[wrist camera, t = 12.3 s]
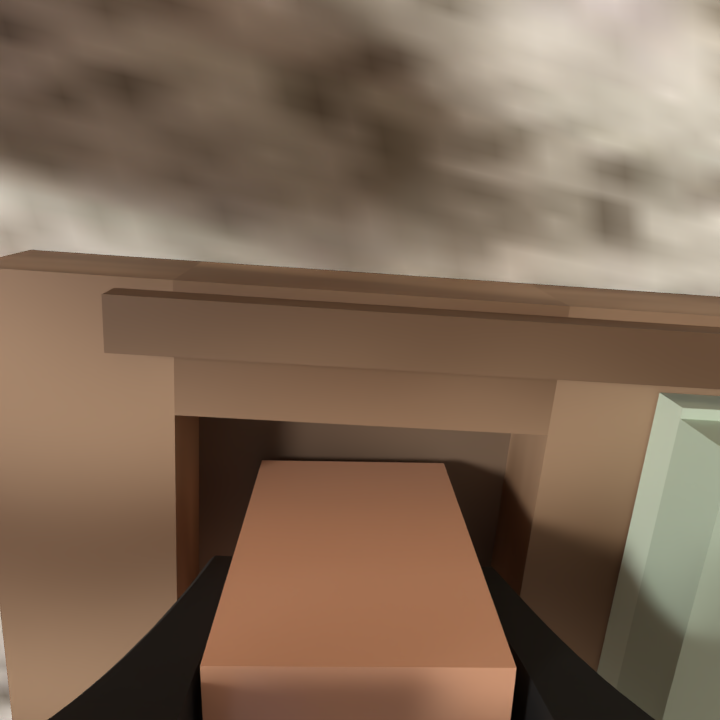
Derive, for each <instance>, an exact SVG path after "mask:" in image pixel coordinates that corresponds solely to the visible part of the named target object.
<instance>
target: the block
mask: <svg viewBox="0 0 720 720" xmlns="http://www.w3.org/2000/svg"><path fill="white" fill-rule="evenodd" d="M200 677H201V696H202V716H203V720H510V719H511V711H512V702H513V694H514V685H515V677H516V665H515V662H514V659H513V656H512V654H511V651H510V648H509V645H508V642H507V640H506V637H505V634H504V631H503V628H502V626H501V623H500V620H499V617H498V614H497V611H496V609H495V606H494V603H493V600H492V597H491V595H490V592H489V589H488V586H487V583H486V580H485V578H484V575H483V572H482V569H481V566H480V564H479V561H478V558H477V555H476V552H475V550H474V547H473V544H472V541H471V538H470V535H469V533H468V530H467V527H466V524H465V521H464V519H463V516H462V513H461V510H460V507H459V505H458V502H457V499H456V496H455V493H454V490H453V488H452V485H451V482H450V479H449V476H448V474H447V471H446V468H445V465H444V463H403V462H340V461H276V460H262V462H261V465H260V468H259V472H258V475H257V478H256V482H255V485H254V488H253V492H252V495H251V498H250V502H249V505H248V508H247V512H246V515H245V518H244V522H243V525H242V528H241V532H240V535H239V538H238V541H237V545H236V548H235V551H234V555H233V558H232V561H231V565H230V568H229V571H228V575H227V578H226V581H225V585H224V588H223V591H222V595H221V598H220V601H219V605H218V608H217V611H216V615H215V618H214V621H213V624H212V628H211V631H210V634H209V638H208V641H207V644H206V648H205V651H204V654H203V658H202V661H201V664H200Z"/></svg>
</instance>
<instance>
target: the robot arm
mask: <svg viewBox="0 0 720 720" xmlns="http://www.w3.org/2000/svg"><path fill="white" fill-rule="evenodd" d="M232 558H233V556H217V555H215V556H214V557H213V558H211V559H210V560H209V561H208V563H207V564H206V565H205V567H204V568H203V569H202V571H201V572H200V573H199V574H198V576H197V577H196V578H195V580H194V581H193V582H192V583H191V585H190V586H189V587H188V588H187V589H186V591H185V592H184V593H183V594H182V595H181V597H180V598H179V599H178V600H177V601H176V602H175V603H174V605H173V606H172V607H171V608H170V609H169V610H168V611H167V612H166V613H165V615H164V616H163V617H162V618H161V619H160V620H159V621H158V622H157V623H156V625H155V626H154V627H153V628H152V629H151V630H150V631H149V632H148V633H147V634H146V635H145V636H144V637H143V638H142V639H141V640H140V641H139V642H138V643H137V644H136V645H135V646H134V647H133V648H132V649H131V650H130V651H129V652H128V653H127V654H126V655H125V656H124V657H123V658H122V659H121V660H119V661H118V662H117V663H116V664H115V665H114V666H113V667H112V668H111V669H110V670H109V671H107V672H106V673H105V674H104V675H103V676H102V677H101V678H100V679H98V680H97V681H96V682H95V683H94V684H92V685H91V686H90V687H89V688H88V689H87V690H85V691H84V692H83V693H82V694H81V695H79V696H78V697H77V698H76V699H74V700H73V701H72V702H71V703H69V704H68V705H67V706H65V707H64V708H63V709H61V710H60V711H59V712H57V713H56V714H55V715H53V716H52V717H51V718H49V719H48V720H203V716H202V696H201V677H200V664H201V661H202V658H203V654H204V651H205V648H206V644H207V641H208V638H209V634H210V631H211V628H212V624H213V621H214V618H215V615H216V611H217V608H218V605H219V601H220V598H221V595H222V591H223V588H224V585H225V581H226V578H227V575H228V571H229V568H230V565H231V561H232ZM481 569H482V572H483V575H484V578H485V580H486V583H487V586H488V589H489V592H490V595H491V597H492V600H493V603H494V606H495V609H496V611H497V614H498V617H499V620H500V623H501V626H502V628H503V631H504V634H505V637H506V640H507V642H508V645H509V648H510V651H511V654H512V656H513V659H514V662H515V665H516V677H515V685H514V694H513V702H512V711H511V719H510V720H655V719H654V718H652V717H651V716H650V715H648V714H647V713H646V712H645V711H643V710H642V709H641V708H640V707H638V706H637V705H636V704H634V703H633V702H632V701H631V700H629V699H628V698H627V697H626V696H624V695H623V694H622V693H620V692H619V691H618V690H617V689H616V688H614V687H613V686H612V685H611V684H610V683H608V682H607V681H606V680H605V679H604V678H602V677H601V676H600V675H599V674H598V673H597V672H596V671H595V670H594V669H592V668H591V667H590V666H589V665H588V664H587V663H586V662H585V661H584V660H582V659H581V658H580V657H579V656H578V655H577V654H576V653H575V652H574V651H573V650H572V649H571V648H570V647H569V646H567V645H566V644H565V643H564V642H563V641H562V640H561V639H560V638H559V637H558V636H557V635H556V634H555V633H554V632H553V631H552V630H551V629H550V628H549V627H548V626H547V625H546V624H545V623H544V622H543V621H542V620H541V619H540V618H539V616H538V615H537V614H536V613H535V612H534V611H533V610H532V609H531V608H530V607H529V606H528V605H527V604H526V603H525V602H524V601H523V600H522V598H521V597H520V596H519V595H518V594H517V593H516V592H515V591H514V590H513V589H512V588H511V587H510V585H509V584H508V583H507V582H506V581H505V580H504V579H503V578H502V577H501V576H500V575H499V574H498V572H497V571H496V570H495V569H494V568H493V567H482V566H481Z"/></svg>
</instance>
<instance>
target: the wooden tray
mask: <svg viewBox="0 0 720 720" xmlns="http://www.w3.org/2000/svg"><path fill="white" fill-rule="evenodd" d="M659 393H676V394H693V395H710V396H720V297H715V296H700V295H686V294H671V293H656V292H641V291H627V290H612V289H597V288H583V287H568V286H553V285H539V284H524V283H509V282H494V281H480V280H465V279H450V278H436V277H421V276H406V275H391V274H377V273H362V272H347V271H333V270H318V269H303V268H289V267H274V266H259V265H244V264H230V263H215V262H200V261H186V260H171V259H156V258H142V257H127V256H112V255H97V254H83V253H68V252H53V251H39V250H28V251H24V252H20V253H16V254H12V255H7V256H3V257H0V611H1V620H2V629H3V638H4V648H5V657H6V666H7V675H8V684H9V694H10V703H11V712H12V720H48V719H49V718H51V717H52V716H53V715H55V714H56V713H57V712H59V711H60V710H61V709H63V708H64V707H65V706H67V705H68V704H69V703H71V702H72V701H73V700H74V699H76V698H77V697H78V696H79V695H81V694H82V693H83V692H84V691H85V690H87V689H88V688H89V687H90V686H91V685H92V684H94V683H95V682H96V681H97V680H98V679H100V678H101V677H102V676H103V675H104V674H105V673H106V672H107V671H109V670H110V669H111V668H112V667H113V666H114V665H115V664H116V663H117V662H118V661H119V660H121V659H122V658H123V657H124V656H125V655H126V654H127V653H128V652H129V651H130V650H131V649H132V648H133V647H134V646H135V645H136V644H137V643H138V642H139V641H140V640H141V639H142V638H143V637H144V636H145V635H146V634H147V633H148V632H149V631H150V630H151V629H152V628H153V627H154V626H155V625H156V623H157V622H158V621H159V620H160V619H161V618H162V617H163V616H164V615H165V613H166V612H167V611H168V610H169V609H170V608H171V607H172V606H173V605H174V603H175V602H176V601H177V600H178V599H179V598H180V597H181V595H182V594H183V593H184V592H185V591H186V589H187V588H188V587H189V586H190V585H191V583H192V582H193V581H194V580H195V578H196V577H197V576H198V574H199V573H200V572H201V571H202V569H203V568H204V567H205V565H206V564H207V563H208V561H209V560H210V559H211V558H213V557H214V556H215V555H217V556H233V555H234V551H235V548H236V545H237V541H238V538H239V535H240V532H241V528H242V525H243V522H244V518H245V515H246V512H247V508H248V505H249V502H250V498H251V495H252V492H253V488H254V485H255V482H256V478H257V475H258V472H259V468H260V465H261V462H262V460H276V461H340V462H403V463H444V465H445V468H446V471H447V474H448V476H449V479H450V482H451V485H452V488H453V490H454V493H455V496H456V499H457V502H458V505H459V507H460V510H461V513H462V516H463V519H464V521H465V524H466V527H467V530H468V533H469V535H470V538H471V541H472V544H473V547H474V550H475V552H476V555H477V558H478V561H479V564H480V566H482V567H493V568H494V569H495V570H496V571H497V572H498V574H499V575H500V576H501V577H502V578H503V579H504V580H505V581H506V582H507V583H508V584H509V585H510V587H511V588H512V589H513V590H514V591H515V592H516V593H517V594H518V595H519V596H520V597H521V598H522V600H523V601H524V602H525V603H526V604H527V605H528V606H529V607H530V608H531V609H532V610H533V611H534V612H535V613H536V614H537V615H538V616H539V618H540V619H541V620H542V621H543V622H544V623H545V624H546V625H547V626H548V627H549V628H550V629H551V630H552V631H553V632H554V633H555V634H556V635H557V636H558V637H559V638H560V639H561V640H562V641H563V642H564V643H565V644H566V645H567V646H569V647H570V648H571V649H572V650H573V651H574V652H575V653H576V654H577V655H578V656H579V657H580V658H581V659H582V660H584V661H585V662H586V663H587V664H588V665H589V666H590V667H591V668H592V669H594V670H595V671H596V672H597V670H598V665H599V661H600V657H601V652H602V648H603V643H604V639H605V634H606V630H607V625H608V621H609V616H610V612H611V607H612V603H613V598H614V594H615V589H616V585H617V581H618V576H619V572H620V567H621V563H622V558H623V554H624V549H625V545H626V540H627V536H628V531H629V527H630V522H631V518H632V513H633V509H634V505H635V500H636V496H637V491H638V487H639V482H640V478H641V473H642V469H643V464H644V460H645V455H646V451H647V446H648V442H649V437H650V433H651V428H652V424H653V420H654V415H655V411H656V406H657V402H658V397H659Z"/></svg>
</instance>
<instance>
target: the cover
mask: <svg viewBox="0 0 720 720" xmlns="http://www.w3.org/2000/svg"><path fill="white" fill-rule="evenodd" d="M597 673H598V674H599V675H600V676H601V677H602V678H604V679H605V680H606V681H607V682H608V683H610V684H611V685H612V686H613V687H614V688H616V689H617V690H618V691H619V692H620V693H622V694H623V695H624V696H626V697H627V698H628V699H629V700H631V701H632V702H633V703H634V704H636V705H637V706H638V707H640V708H641V709H642V710H643V711H645V712H646V713H647V714H648V715H650V716H651V717H652V718H654V719H655V720H720V396H710V395H693V394H676V393H659V397H658V402H657V406H656V411H655V415H654V420H653V424H652V428H651V433H650V437H649V442H648V446H647V451H646V455H645V460H644V464H643V469H642V473H641V478H640V482H639V487H638V491H637V496H636V500H635V505H634V509H633V513H632V518H631V522H630V527H629V531H628V536H627V540H626V545H625V549H624V554H623V558H622V563H621V567H620V572H619V576H618V581H617V585H616V589H615V594H614V598H613V603H612V607H611V612H610V616H609V621H608V625H607V630H606V634H605V639H604V643H603V648H602V652H601V657H600V661H599V665H598V670H597Z"/></svg>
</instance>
